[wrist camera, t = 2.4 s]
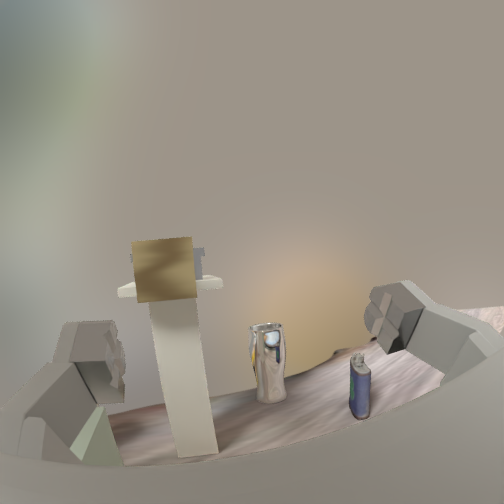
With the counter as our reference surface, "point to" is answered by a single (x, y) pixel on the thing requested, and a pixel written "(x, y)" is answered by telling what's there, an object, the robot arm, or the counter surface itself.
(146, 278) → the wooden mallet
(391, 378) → the counter surface
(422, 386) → the counter surface
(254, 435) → the counter surface
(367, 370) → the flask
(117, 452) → the sage pedestal
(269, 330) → the beer glass
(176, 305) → the tall stand
